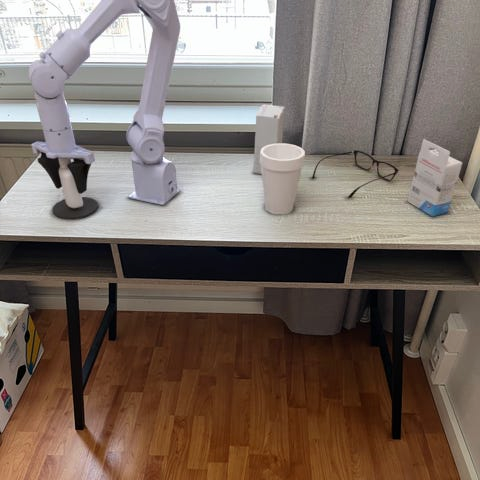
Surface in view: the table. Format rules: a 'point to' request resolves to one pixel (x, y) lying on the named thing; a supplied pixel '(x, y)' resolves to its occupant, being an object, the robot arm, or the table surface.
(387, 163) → the eyeglasses
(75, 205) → the eye dropper bottle
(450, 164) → the ink box
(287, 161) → the foam cup
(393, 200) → the table surface
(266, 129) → the cosmetic box
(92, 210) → the coaster
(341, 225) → the table surface
